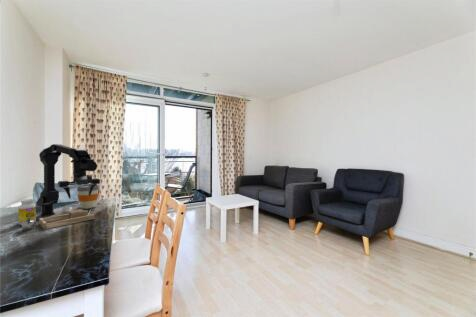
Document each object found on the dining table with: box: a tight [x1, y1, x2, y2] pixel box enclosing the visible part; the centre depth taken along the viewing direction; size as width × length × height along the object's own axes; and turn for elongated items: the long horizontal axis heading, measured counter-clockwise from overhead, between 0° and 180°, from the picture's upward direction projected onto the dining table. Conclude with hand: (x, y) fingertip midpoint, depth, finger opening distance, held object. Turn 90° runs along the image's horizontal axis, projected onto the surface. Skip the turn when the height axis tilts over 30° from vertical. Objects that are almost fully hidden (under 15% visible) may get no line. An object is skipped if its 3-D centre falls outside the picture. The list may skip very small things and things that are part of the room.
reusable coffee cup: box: [76, 184, 100, 210], centre depth 147 cm, size 13×12×15 cm
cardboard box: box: [68, 208, 85, 219], centre depth 121 cm, size 6×6×5 cm
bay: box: [38, 210, 95, 230], centre depth 118 cm, size 13×22×3 cm, turn 141°
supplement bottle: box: [18, 198, 37, 226], centre depth 114 cm, size 7×7×13 cm
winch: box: [21, 217, 35, 232], centre depth 105 cm, size 6×4×7 cm
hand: (79, 197), depth 120 cm, fingers open, 9 cm apart
